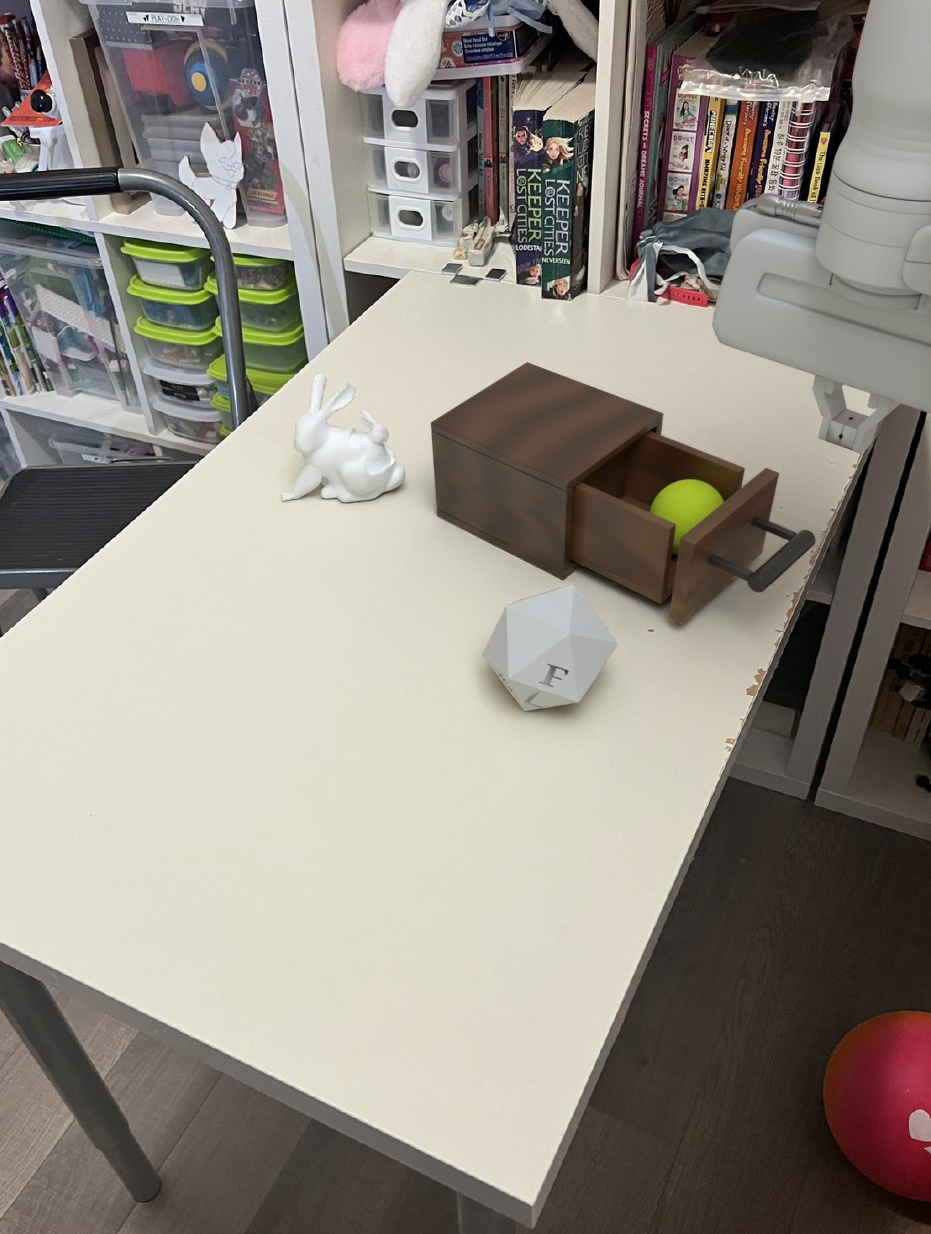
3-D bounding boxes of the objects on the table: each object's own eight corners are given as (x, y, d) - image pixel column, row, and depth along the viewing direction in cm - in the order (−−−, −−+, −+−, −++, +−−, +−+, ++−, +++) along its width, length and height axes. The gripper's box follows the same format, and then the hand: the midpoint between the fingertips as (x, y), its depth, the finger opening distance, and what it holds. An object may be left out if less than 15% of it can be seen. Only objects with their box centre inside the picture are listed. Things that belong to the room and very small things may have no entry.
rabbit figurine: (277, 502, 97) (258, 410, 90) (298, 457, 102) (281, 367, 95) (400, 507, 95) (391, 414, 88) (416, 461, 100) (408, 369, 93)
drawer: (817, 577, 82) (840, 495, 76) (738, 653, 77) (755, 571, 71) (627, 494, 92) (634, 416, 86) (545, 557, 87) (547, 478, 81)
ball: (686, 537, 87) (741, 491, 83) (688, 582, 83) (745, 537, 79) (633, 499, 85) (686, 450, 81) (632, 544, 81) (688, 495, 77)
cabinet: (652, 509, 91) (663, 412, 84) (563, 580, 86) (567, 483, 79) (526, 454, 99) (526, 361, 92) (436, 515, 94) (430, 422, 87)
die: (462, 699, 79) (492, 676, 69) (494, 591, 80) (528, 553, 70) (566, 733, 79) (610, 715, 69) (596, 625, 81) (643, 593, 71)
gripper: (710, 203, 61) (681, 411, 71) (1070, 294, 50) (976, 524, 61) (768, 169, 64) (732, 374, 74) (1121, 248, 53) (1022, 475, 63)
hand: (844, 442), depth 67 cm, fingers closed
